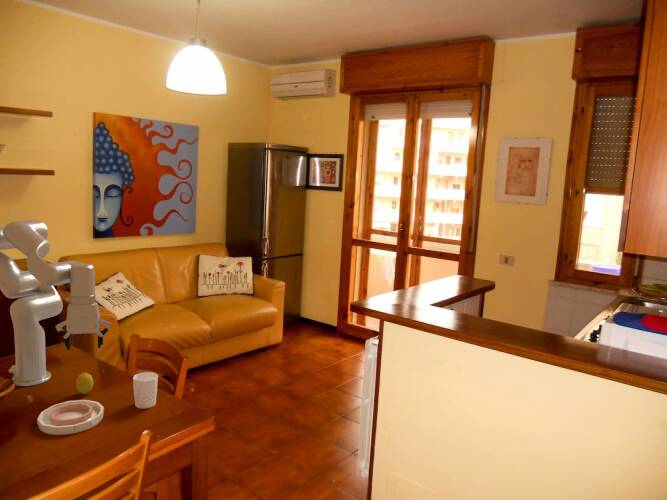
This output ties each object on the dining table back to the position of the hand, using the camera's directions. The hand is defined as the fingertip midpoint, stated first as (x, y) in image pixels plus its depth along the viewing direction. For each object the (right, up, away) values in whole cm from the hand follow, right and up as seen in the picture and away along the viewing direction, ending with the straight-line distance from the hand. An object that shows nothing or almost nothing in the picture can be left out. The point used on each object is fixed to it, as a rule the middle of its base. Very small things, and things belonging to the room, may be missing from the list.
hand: (84, 347), depth 172 cm
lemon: (-1, -17, +3) cm, 17 cm away
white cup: (+22, -19, -2) cm, 29 cm away
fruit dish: (+4, -20, -16) cm, 26 cm away
